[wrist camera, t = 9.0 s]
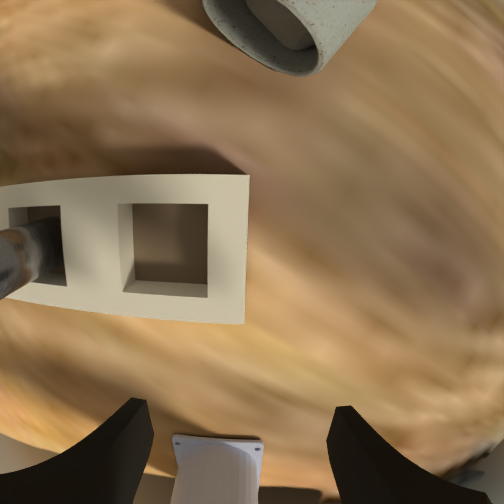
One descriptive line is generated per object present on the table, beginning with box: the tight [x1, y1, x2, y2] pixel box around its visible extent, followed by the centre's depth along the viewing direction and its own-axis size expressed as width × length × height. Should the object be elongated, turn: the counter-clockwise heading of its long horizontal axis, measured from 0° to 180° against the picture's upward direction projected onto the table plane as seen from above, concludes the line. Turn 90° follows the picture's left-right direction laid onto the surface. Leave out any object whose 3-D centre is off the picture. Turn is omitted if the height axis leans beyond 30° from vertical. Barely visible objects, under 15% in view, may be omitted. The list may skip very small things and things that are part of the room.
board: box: [0, 174, 250, 324], centre depth 17 cm, size 8×18×3 cm, turn 88°
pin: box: [0, 216, 64, 300], centre depth 14 cm, size 4×4×8 cm
